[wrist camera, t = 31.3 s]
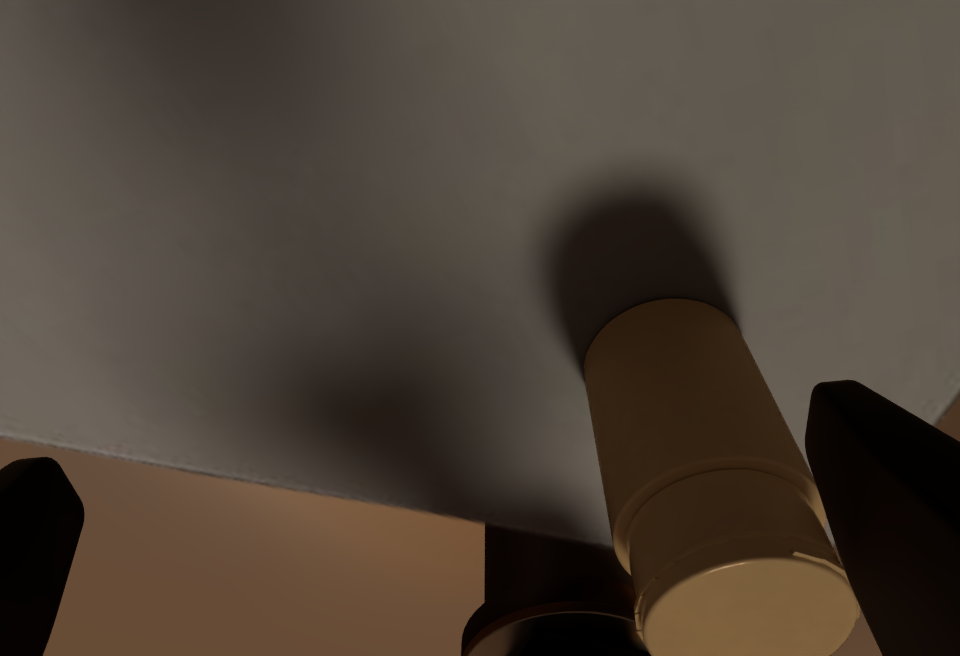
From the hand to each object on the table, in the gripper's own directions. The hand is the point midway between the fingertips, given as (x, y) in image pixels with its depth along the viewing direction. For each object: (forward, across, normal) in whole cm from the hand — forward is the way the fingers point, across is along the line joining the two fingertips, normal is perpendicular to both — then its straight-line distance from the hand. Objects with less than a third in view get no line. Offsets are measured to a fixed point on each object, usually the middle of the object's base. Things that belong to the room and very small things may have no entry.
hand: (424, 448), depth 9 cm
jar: (+13, -5, +9) cm, 17 cm away
